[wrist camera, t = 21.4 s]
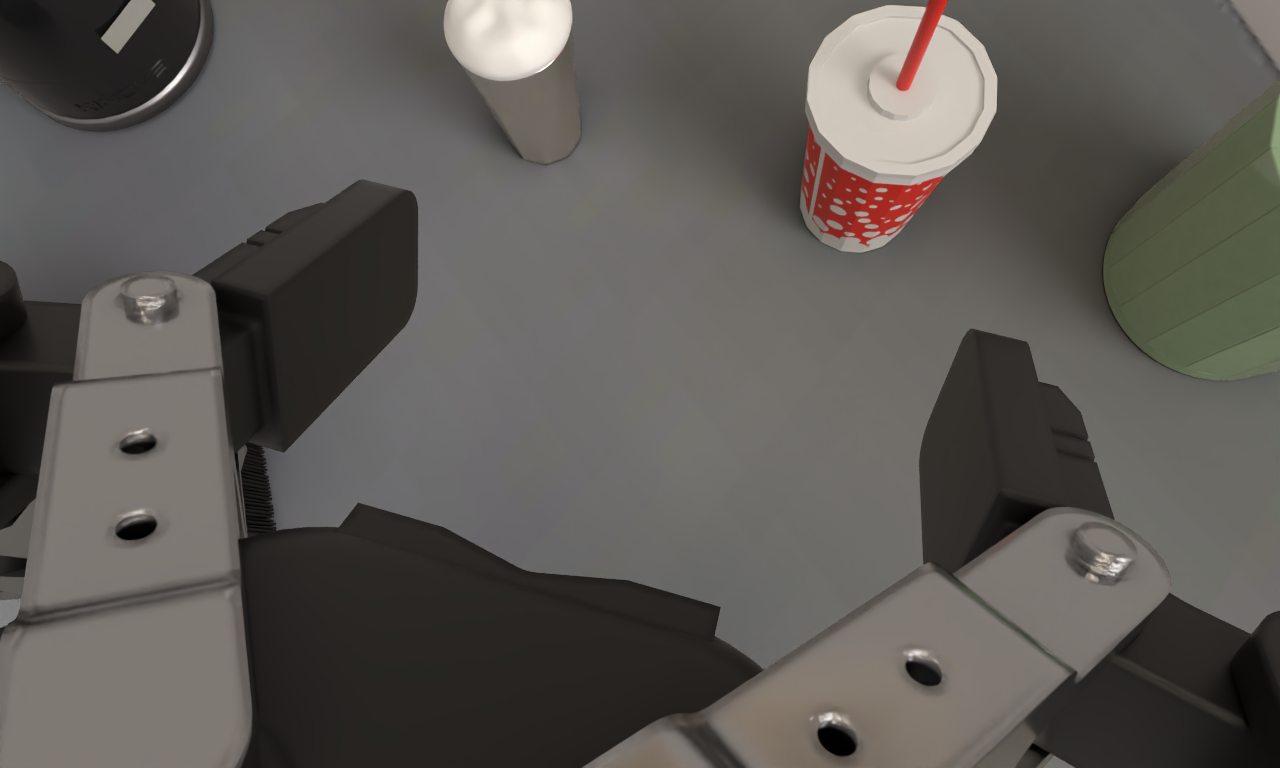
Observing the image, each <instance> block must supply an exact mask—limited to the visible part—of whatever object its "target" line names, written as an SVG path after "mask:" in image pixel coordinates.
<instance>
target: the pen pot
mask: <svg viewBox="0 0 1280 768" xmlns="http://www.w3.org/2000/svg"><path fill="white" fill-rule="evenodd" d="M1103 280H1104V286H1105V292H1106V296H1107V299H1108V302H1109V305H1110V307H1111V310H1112V312H1113V314H1114V316H1115V318H1116V320H1117V321H1118V323H1119V324H1120V326H1121V328H1122V329H1123V330H1124V332H1125V333H1126V334H1127V335H1128V337H1129V338H1130V339H1131V340H1132V341H1133V342H1134V343H1135V344H1136V345H1137V346H1138V347H1139V348H1140V349H1141V350H1142V351H1144V352H1145V353H1146V354H1148V355H1149V356H1150V357H1152V358H1153V359H1154V360H1156V361H1158V362H1159V363H1161V364H1163V365H1165V366H1166V367H1168V368H1171V369H1173V370H1175V371H1178V372H1180V373H1183V374H1186V375H1189V376H1193V377H1197V378H1202V379H1208V380H1221V381H1227V380H1240V379H1245V378H1250V377H1254V376H1257V375H1260V374H1266V373H1272V372H1275V371H1278V370H1280V79H1279V80H1277V81H1276V82H1275V83H1274V84H1273V85H1272V86H1270V87H1269V88H1268V89H1267V90H1266V91H1265V92H1263V93H1262V94H1261V95H1260V96H1259V97H1257V98H1256V99H1255V100H1254V101H1253V102H1252V103H1250V104H1249V105H1248V106H1247V107H1246V108H1245V109H1243V110H1242V111H1241V112H1240V113H1239V114H1237V115H1236V116H1235V117H1234V118H1233V119H1232V120H1230V121H1229V122H1228V123H1227V124H1226V125H1225V126H1223V127H1222V128H1221V129H1220V130H1219V131H1217V132H1216V133H1215V134H1214V135H1213V136H1212V137H1210V138H1209V139H1208V140H1207V141H1206V142H1205V143H1203V144H1202V145H1201V146H1200V147H1199V148H1197V149H1196V150H1195V151H1194V152H1193V153H1192V154H1190V155H1189V156H1188V157H1187V158H1186V159H1185V160H1183V161H1182V162H1181V163H1180V164H1179V165H1177V166H1176V167H1175V168H1174V169H1173V170H1172V171H1170V172H1169V173H1168V174H1167V175H1166V176H1165V177H1163V178H1162V179H1161V180H1160V181H1159V182H1158V183H1156V184H1155V185H1154V186H1153V187H1152V188H1150V189H1149V190H1148V191H1147V192H1146V193H1145V194H1143V195H1142V196H1141V197H1140V198H1139V199H1138V200H1137V202H1136V203H1135V204H1134V205H1133V206H1132V207H1131V208H1130V209H1129V210H1128V211H1127V212H1126V213H1125V214H1124V215H1123V217H1122V218H1121V219H1120V220H1119V222H1118V223H1117V225H1116V227H1115V228H1114V230H1113V232H1112V234H1111V236H1110V238H1109V241H1108V244H1107V247H1106V251H1105V255H1104V264H1103Z"/></svg>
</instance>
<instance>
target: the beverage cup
mask: <svg viewBox="0 0 1280 768" xmlns="http://www.w3.org/2000/svg"><path fill="white" fill-rule="evenodd" d="M947 1H948V0H929V2H928V5H927V7H926V8H925V7H914V6H895V5H886V6H883V7H880V8H876V9H873V10H870V11H866V12H863V13H860V14H857V15H853V16H852V17H851V18H849V19H848V20H847V21H845V22H844V23H843V24H842V25H840V26H839V27H838V28H836V29H835V30H834V31H833V32H831V33H830V34H829V35H828V36H826V37H825V39H824V41H823V43H822V44H821V46H820V48H819V50H818V52H817V53H816V55H815V57H814V59H813V61H812V63H811V64H810V66H809V70H808V79H807V92H806V105H805V113H806V116H807V118H808V121H809V129H808V137H807V145H806V154H805V162H804V170H803V178H802V186H801V198H800V210H801V212H802V215H803V218H804V221H805V223H806V226H807V227H808V229H809V230H810V231H811V232H812V233H813V234H814V235H815V236H816V237H817V238H818V239H819V240H820V241H821V242H822V243H824V244H826V245H829V246H831V247H833V248H835V249H837V250H839V251H845V252H859V253H863V252H866V251H870V250H873V249H876V248H879V247H883V246H884V245H885V244H886V243H888V242H889V241H890V240H891V239H893V238H894V237H895V236H896V235H897V234H899V233H900V231H901V230H902V229H903V228H904V226H905V225H906V224H907V223H908V221H909V220H910V219H911V218H912V216H913V215H914V214H915V212H916V211H917V210H918V209H919V207H920V206H921V205H922V204H923V202H924V201H925V200H926V199H927V197H928V196H929V195H930V194H931V192H932V191H933V190H934V189H935V187H936V186H937V185H938V184H939V182H940V181H941V180H942V179H943V177H944V176H945V175H946V174H947V173H948V172H950V171H951V170H952V169H953V168H954V167H956V166H957V165H958V164H959V163H961V162H962V161H963V160H964V159H966V158H967V157H968V156H969V155H971V154H972V153H973V151H974V149H975V148H976V147H977V146H978V145H979V144H980V142H981V140H982V139H983V137H984V135H985V133H986V131H987V129H988V127H989V125H990V123H991V121H992V119H993V117H994V115H995V113H996V107H997V75H996V73H995V71H994V69H993V66H992V64H991V62H990V59H989V57H988V55H987V52H986V50H985V48H984V46H983V45H982V44H981V43H980V42H979V41H978V40H977V39H976V38H975V37H974V36H973V35H972V34H971V33H970V32H969V31H968V30H967V29H966V28H965V27H964V26H962V25H961V24H960V23H959V22H958V21H956V20H954V19H952V18H949V17H947V16H944V15H942V13H943V11H944V8H945V6H946V4H947Z"/></svg>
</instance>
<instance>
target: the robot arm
mask: <svg viewBox="0 0 1280 768" xmlns="http://www.w3.org/2000/svg"><path fill="white" fill-rule="evenodd" d="M212 34H213V16H212V10H211V5H210V2H209V0H0V80H2V81H3V82H5V83H6V84H7V85H9V86H10V87H12V88H13V89H15V90H16V91H17V92H19V93H20V94H21V95H22V96H23V97H24V98H25V99H26V100H27V101H28V102H29V103H30V104H32V105H33V106H35V107H36V108H37V109H39V110H40V111H42V112H43V113H44V114H46V115H47V116H49V117H50V118H52V119H54V120H55V121H57V122H59V123H61V124H64V125H66V126H69V127H73V128H76V129H81V130H88V131H109V130H117V129H122V128H126V127H129V126H133V125H136V124H138V123H141V122H143V121H146V120H148V119H150V118H152V117H154V116H155V115H157V114H159V113H160V112H162V111H163V110H165V109H166V108H168V107H169V106H170V105H172V104H173V103H174V102H175V101H176V100H178V99H179V98H180V97H181V96H182V95H183V94H184V93H185V91H186V90H187V89H188V88H189V87H190V86H191V84H192V83H193V82H194V80H195V79H196V77H197V76H198V74H199V72H200V71H201V69H202V67H203V65H204V63H205V61H206V58H207V55H208V52H209V49H210V45H211V41H212ZM417 288H418V206H417V200H416V197H415V195H414V194H413V193H412V192H411V191H408V190H404V189H400V188H396V187H392V186H387V185H383V184H379V183H375V182H371V181H367V180H359V181H357V182H355V183H354V184H352V185H351V186H349V187H348V188H346V189H345V190H343V191H342V192H341V193H339V194H338V195H336V196H335V197H333V198H332V199H330V200H329V201H327V202H326V203H319V204H315V205H312V206H309V207H305V208H302V209H299V210H295V211H292V212H288V213H287V214H285V215H284V216H282V217H281V218H279V219H278V220H276V221H275V222H273V223H271V224H270V225H268V226H267V227H266V229H265V231H262V230H261V231H259V232H258V233H256V234H255V235H253V236H252V237H250V238H248V239H247V243H243V242H242V243H241V244H239V245H238V246H236V247H235V248H233V249H232V250H230V251H229V252H227V253H225V254H224V255H222V256H221V257H219V258H218V259H216V260H215V261H213V262H212V263H210V264H209V265H207V266H206V267H204V268H202V269H201V270H199V271H198V272H196V273H195V274H193V275H189V274H184V273H179V272H170V271H148V272H139V273H133V274H127V275H123V276H119V277H116V278H113V279H110V280H108V281H106V282H104V283H101V284H99V285H98V286H96V287H95V288H93V289H92V290H91V291H90V292H89V293H87V295H86V296H85V298H84V299H83V302H82V304H68V303H53V302H37V301H23V297H22V294H21V290H20V287H19V283H18V280H17V276H16V273H15V271H14V269H13V268H12V267H11V266H9V265H8V264H6V263H4V262H2V261H0V529H1V528H3V527H4V526H5V525H6V524H7V523H8V522H9V521H11V520H12V519H13V518H14V517H15V516H16V515H17V514H19V513H20V512H21V511H22V510H23V509H24V508H25V507H27V506H28V505H29V504H30V503H31V502H32V501H33V500H35V499H36V502H35V509H34V516H33V523H32V530H31V537H30V544H29V551H28V557H27V564H26V571H25V578H24V585H23V592H22V599H21V605H20V610H19V613H18V616H17V618H16V619H15V620H14V621H12V622H10V623H9V624H8V625H7V626H4V627H2V628H0V768H1043V767H1044V766H1045V765H1046V764H1047V763H1048V762H1049V761H1050V760H1051V759H1052V757H1053V756H1054V755H1055V756H1056V757H1058V758H1060V759H1061V760H1063V761H1065V762H1067V763H1068V764H1070V765H1072V766H1074V767H1075V768H1280V611H1277V612H1273V613H1271V614H1269V615H1267V616H1266V618H1265V619H1264V620H1263V621H1262V622H1261V623H1260V624H1259V626H1258V627H1257V628H1256V629H1255V631H1254V632H1253V633H1252V634H1250V633H1247V632H1245V631H1243V630H1241V629H1239V628H1237V627H1235V626H1233V625H1231V624H1229V623H1227V622H1225V621H1223V620H1220V619H1218V618H1216V617H1214V616H1212V615H1210V614H1208V613H1206V612H1204V611H1202V610H1200V609H1198V608H1196V607H1194V606H1192V605H1190V604H1188V603H1186V602H1184V601H1182V600H1180V599H1179V598H1177V597H1176V596H1174V595H1172V594H1171V593H1169V592H1170V588H1171V576H1170V573H1169V570H1168V568H1167V566H1166V564H1165V562H1164V560H1163V559H1162V558H1161V556H1160V555H1159V554H1158V552H1157V551H1156V550H1155V549H1154V548H1153V547H1152V546H1151V545H1150V544H1149V543H1148V542H1146V541H1145V540H1144V539H1143V538H1142V537H1141V536H1139V535H1138V534H1136V533H1135V532H1134V531H1132V530H1131V529H1129V528H1127V527H1126V526H1124V525H1122V524H1121V523H1119V522H1117V521H1115V519H1114V516H1113V513H1112V510H1111V507H1110V504H1109V500H1108V497H1107V494H1106V491H1105V488H1104V485H1103V481H1102V478H1101V475H1100V472H1099V469H1098V466H1097V463H1096V462H1094V458H1095V456H1094V453H1093V450H1092V447H1091V444H1090V442H1089V441H1087V439H1088V434H1087V431H1086V428H1085V425H1084V422H1083V418H1082V415H1081V412H1080V411H1079V410H1078V409H1077V408H1076V406H1075V405H1074V404H1073V403H1072V402H1071V401H1070V400H1069V399H1068V397H1067V396H1066V395H1065V394H1064V393H1063V392H1062V391H1061V390H1060V389H1059V387H1058V386H1054V385H1050V384H1046V383H1042V382H1038V378H1037V374H1036V371H1035V367H1034V363H1033V359H1032V355H1031V351H1030V347H1029V345H1028V343H1027V342H1025V341H1021V340H1017V339H1013V338H1008V337H1004V336H1000V335H996V334H992V333H988V332H984V331H980V330H975V329H970V330H969V331H968V332H967V333H966V335H965V336H964V338H963V340H962V342H961V344H960V346H959V349H958V351H957V353H956V356H955V358H954V361H953V363H952V365H951V368H950V370H949V373H948V375H947V377H946V380H945V382H944V385H943V387H942V389H941V392H940V394H939V397H938V399H937V401H936V404H935V406H934V409H933V411H932V413H931V416H930V418H929V421H928V423H927V426H926V429H925V433H924V436H923V440H922V445H921V450H920V459H919V471H920V495H921V519H922V543H923V565H922V566H921V567H919V568H917V569H916V570H914V571H913V572H911V573H910V574H908V575H907V576H905V577H904V578H902V579H901V580H899V581H898V582H896V583H895V584H893V585H892V586H890V587H889V588H887V589H886V590H884V591H883V592H881V593H880V594H878V595H877V596H875V597H874V598H872V599H871V600H869V601H868V602H866V603H865V604H863V605H862V606H860V607H859V608H857V609H855V610H854V611H852V612H851V613H849V614H848V615H846V616H845V617H843V618H842V619H840V620H839V621H837V622H836V623H834V624H833V625H831V626H830V627H828V628H827V629H825V630H824V631H822V632H821V633H819V634H818V635H816V636H815V637H813V638H812V639H810V640H809V641H807V642H806V643H804V644H803V645H801V646H800V647H798V648H797V649H795V650H794V651H792V652H790V653H789V654H787V655H786V656H784V657H783V658H781V659H780V660H778V661H777V662H775V663H774V664H772V665H771V666H769V667H768V668H766V669H765V670H763V669H762V668H761V667H760V666H759V665H757V664H756V663H755V662H754V661H753V660H751V659H750V658H749V657H747V656H746V655H744V654H743V653H741V652H740V651H738V650H737V649H736V648H734V647H733V646H731V645H730V644H728V643H726V642H724V641H723V640H721V639H719V638H717V637H715V636H714V635H715V630H716V626H717V621H718V617H719V612H720V607H718V606H715V605H712V604H708V603H705V602H701V601H698V600H694V599H691V598H687V597H684V596H680V595H677V594H673V593H670V592H666V591H663V590H659V589H656V588H652V587H649V586H646V585H642V584H639V583H635V582H632V581H628V580H616V579H604V578H593V577H581V576H569V575H557V574H546V573H535V572H529V571H526V570H523V569H520V568H518V567H516V566H514V565H513V564H511V563H509V562H507V561H505V560H503V559H501V558H500V557H498V556H496V555H494V554H492V553H490V552H488V551H487V550H485V549H483V548H481V547H479V546H477V545H475V544H474V543H472V542H470V541H468V540H466V539H464V538H462V537H461V536H459V535H457V534H455V533H453V532H451V531H450V530H448V529H446V528H444V527H441V526H437V525H434V524H430V523H427V522H423V521H420V520H416V519H413V518H409V517H406V516H402V515H399V514H395V513H392V512H388V511H385V510H381V509H378V508H375V507H371V506H368V505H364V504H361V503H358V504H357V505H356V506H355V508H354V509H353V510H352V511H351V513H350V514H349V515H348V517H347V518H346V519H345V520H344V522H343V523H342V524H341V525H340V527H339V528H337V527H303V528H293V529H283V530H278V531H272V532H267V533H261V534H257V535H254V536H250V537H248V535H247V526H246V517H245V507H244V498H243V489H242V480H241V471H240V464H239V457H238V451H239V450H240V449H241V448H242V447H243V446H244V445H245V444H246V443H247V442H249V443H252V444H256V445H259V446H263V447H267V448H270V449H274V450H277V451H281V452H285V451H286V450H287V449H288V448H289V447H290V446H291V445H292V444H293V443H294V442H295V441H296V440H297V438H298V437H299V436H300V435H301V434H302V433H303V432H304V431H305V430H306V429H307V428H308V427H309V426H310V425H311V424H312V423H313V422H314V421H315V420H316V419H317V418H318V417H319V416H320V414H321V413H322V412H323V411H324V410H325V409H326V408H327V407H328V406H329V405H330V404H331V403H332V402H333V401H334V400H335V399H336V398H337V397H338V396H339V395H340V394H341V393H342V392H343V391H344V389H345V388H346V387H347V386H348V385H349V384H350V383H351V382H352V381H353V380H354V379H355V378H356V377H357V376H358V375H359V374H360V373H361V372H362V371H363V370H364V369H365V368H366V367H367V365H368V364H369V363H370V362H371V361H372V360H373V359H374V358H375V357H376V356H377V355H378V354H379V353H380V352H381V351H382V350H383V349H384V348H385V347H386V346H387V345H388V344H389V343H390V342H391V340H392V339H393V338H394V337H395V336H396V335H397V334H398V333H399V332H400V331H401V330H402V329H403V328H404V327H405V325H406V324H407V322H408V321H409V319H410V317H411V314H412V312H413V309H414V306H415V302H416V297H417Z"/></svg>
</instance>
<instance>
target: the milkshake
mask: <svg viewBox="0 0 1280 768" xmlns="http://www.w3.org/2000/svg"><path fill="white" fill-rule="evenodd" d="M444 34H445V38H446V42H447V44H448V46H449V48H450V50H451V52H452V54H453V55H454V57H455V58H456V60H457V61H458V63H459V64H460V66H461V67H462V69H463V70H464V71H465V73H466V74H467V76H468V77H469V79H470V80H471V82H472V83H473V85H474V86H475V87H476V89H477V90H478V91H479V93H480V94H481V96H482V98H483V99H484V101H485V103H486V104H487V106H488V107H489V109H490V111H491V112H492V114H493V116H494V117H495V119H496V121H497V122H498V124H499V125H500V127H501V129H502V130H503V132H504V134H505V135H506V137H507V139H508V140H509V142H510V143H511V144H512V145H513V147H514V148H515V149H516V150H517V151H518V153H519V154H520V155H521V156H522V157H523V159H524V160H528V161H533V162H537V163H541V164H546V165H547V164H550V163H552V162H555V161H558V160H560V159H563V158H566V157H568V156H569V155H570V153H571V152H572V150H573V149H574V148H575V146H576V145H577V143H578V142H579V141H580V139H581V115H580V107H579V98H578V90H577V82H576V74H575V65H574V42H573V27H572V8H571V3H570V0H448V2H447V5H446V9H445V14H444Z"/></svg>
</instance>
